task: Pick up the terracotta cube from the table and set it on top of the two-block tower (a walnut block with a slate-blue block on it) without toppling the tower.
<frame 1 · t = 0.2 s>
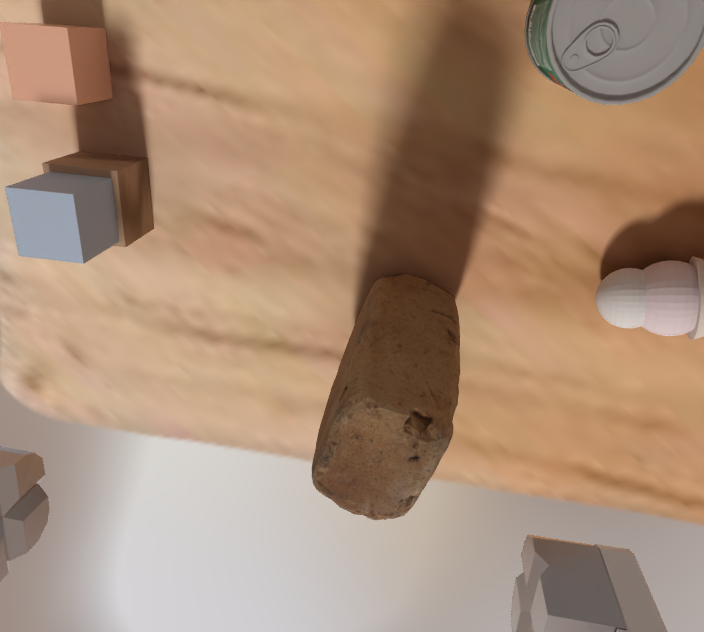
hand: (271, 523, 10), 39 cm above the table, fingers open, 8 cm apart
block: (399, 322, 51), on the table
tower base: (117, 190, 50), on the table, touching tower mid
tower mid: (85, 207, 45), point 5 cm above the table, touching tower base
canned tomato: (584, 24, 39), on the table
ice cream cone: (689, 279, 46), on the table
cube: (79, 61, 45), on the table
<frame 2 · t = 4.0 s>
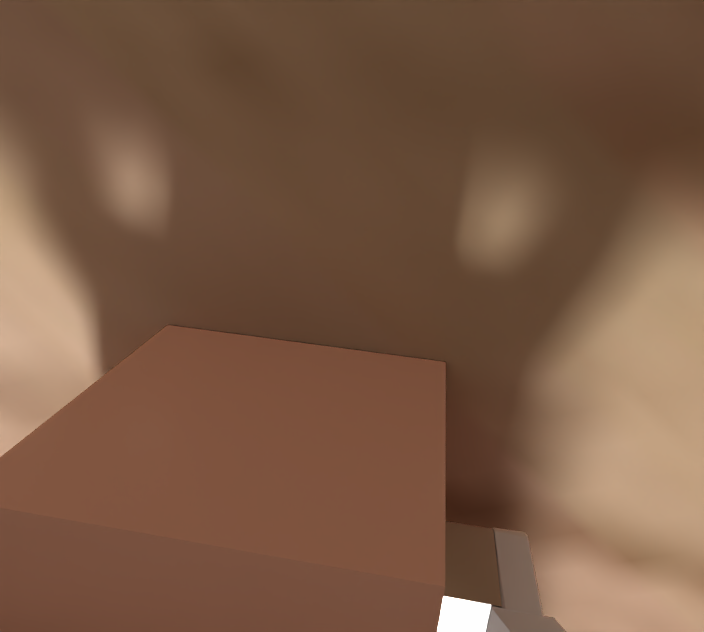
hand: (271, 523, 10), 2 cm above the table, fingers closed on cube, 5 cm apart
cube: (296, 463, 11), on the table, touching gripper
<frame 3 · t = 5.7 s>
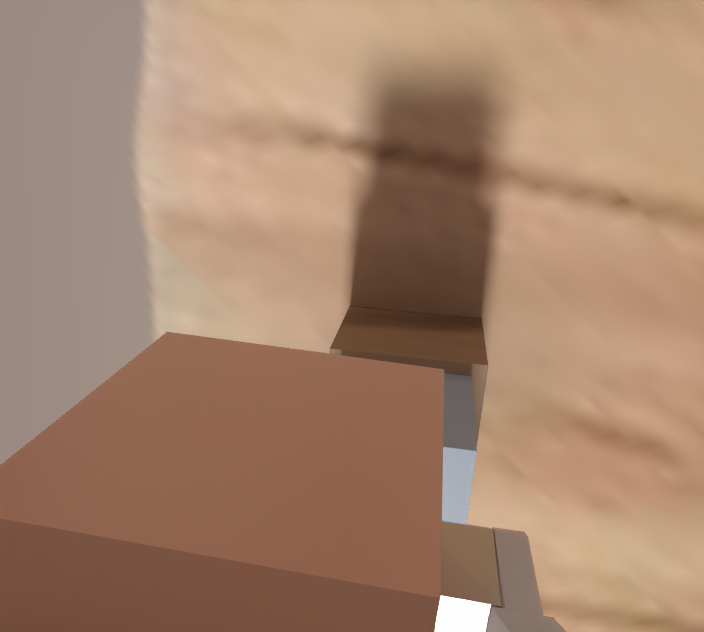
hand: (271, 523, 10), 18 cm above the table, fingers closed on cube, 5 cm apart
tower base: (409, 370, 28), on the table, touching tower mid
tower mid: (400, 425, 23), point 5 cm above the table, touching tower base
cube: (295, 469, 11), point 16 cm above the table, touching gripper
when the fingers open (13 cm above the table, at t = 7.5 s): cube drops 1 cm, resting on tower mid.
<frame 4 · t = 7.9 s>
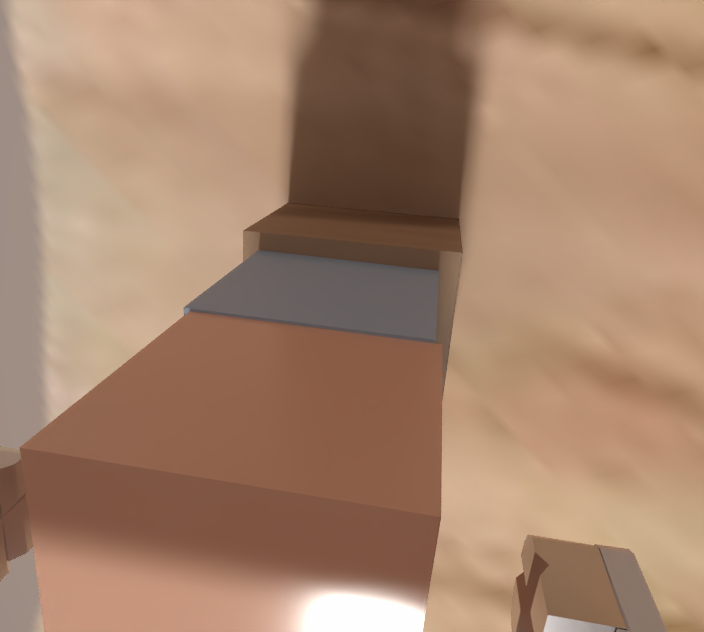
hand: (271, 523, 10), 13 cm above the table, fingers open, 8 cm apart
tower base: (365, 292, 21), on the table, touching tower mid
tower mid: (340, 344, 17), point 5 cm above the table, touching cube, tower base
cube: (306, 438, 12), point 10 cm above the table, touching tower mid
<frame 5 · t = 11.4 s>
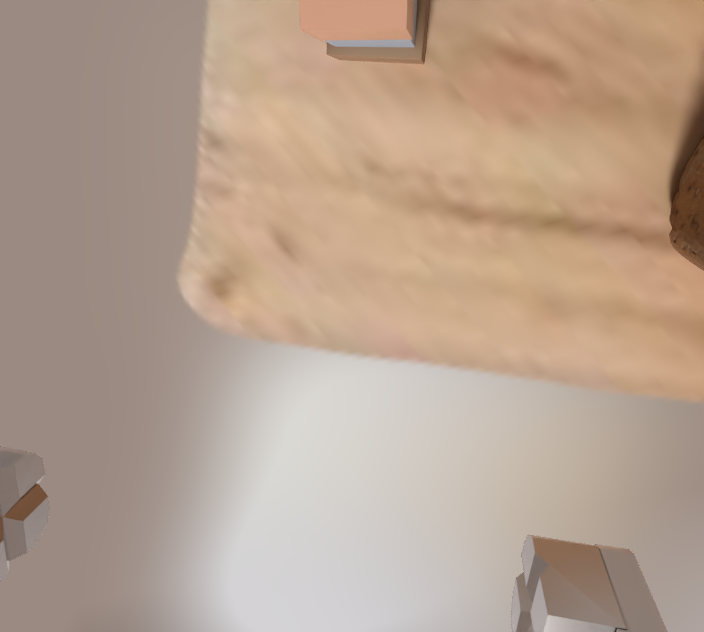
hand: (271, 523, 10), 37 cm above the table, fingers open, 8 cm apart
tower base: (384, 14, 40), on the table, touching tower mid
tower mid: (376, 2, 36), point 5 cm above the table, touching cube, tower base
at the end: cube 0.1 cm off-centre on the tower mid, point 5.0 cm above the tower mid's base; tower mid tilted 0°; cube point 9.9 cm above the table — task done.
